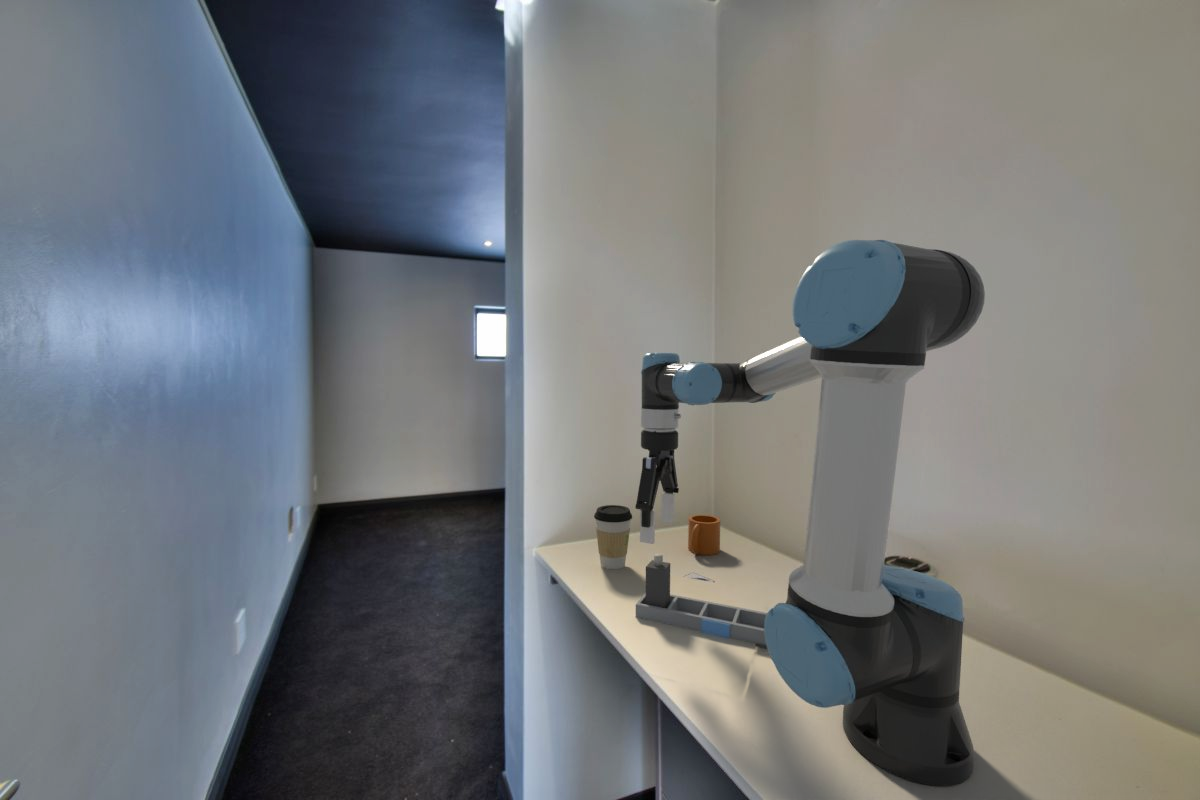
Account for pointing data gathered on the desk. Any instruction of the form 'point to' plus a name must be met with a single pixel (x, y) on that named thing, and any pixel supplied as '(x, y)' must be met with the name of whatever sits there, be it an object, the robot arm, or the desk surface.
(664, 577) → the grey block with peg
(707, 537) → the mug
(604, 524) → the coffee cup
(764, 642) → the compartment organizer tray
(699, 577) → the smartphone
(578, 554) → the desk surface
